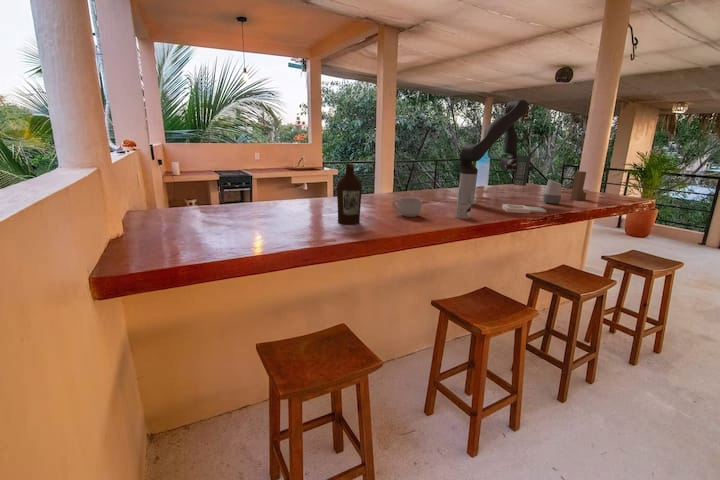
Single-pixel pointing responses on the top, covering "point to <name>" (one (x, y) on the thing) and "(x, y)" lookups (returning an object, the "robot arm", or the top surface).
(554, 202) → the smart speaker
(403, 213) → the teacup
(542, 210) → the white rectangular plate
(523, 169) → the can
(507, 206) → the well rim
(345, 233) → the top surface
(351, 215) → the olive oil
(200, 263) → the top surface
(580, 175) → the wooden block
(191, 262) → the top surface
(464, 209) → the mug
